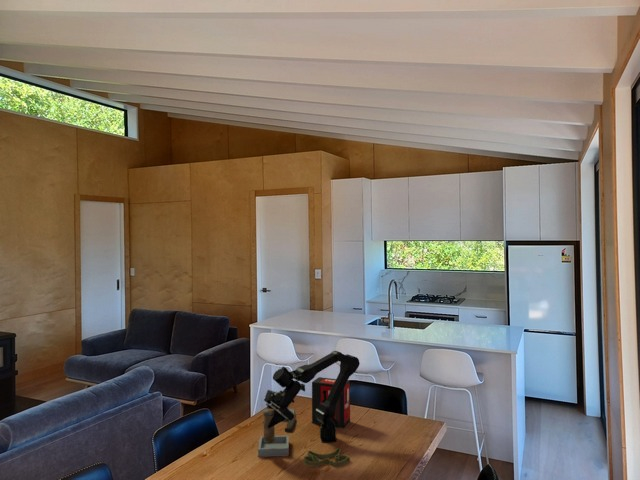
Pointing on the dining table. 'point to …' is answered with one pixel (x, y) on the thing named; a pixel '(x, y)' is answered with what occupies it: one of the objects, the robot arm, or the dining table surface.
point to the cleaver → (290, 422)
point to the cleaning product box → (320, 394)
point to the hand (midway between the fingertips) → (265, 425)
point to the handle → (268, 432)
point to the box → (274, 447)
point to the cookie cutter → (316, 462)
